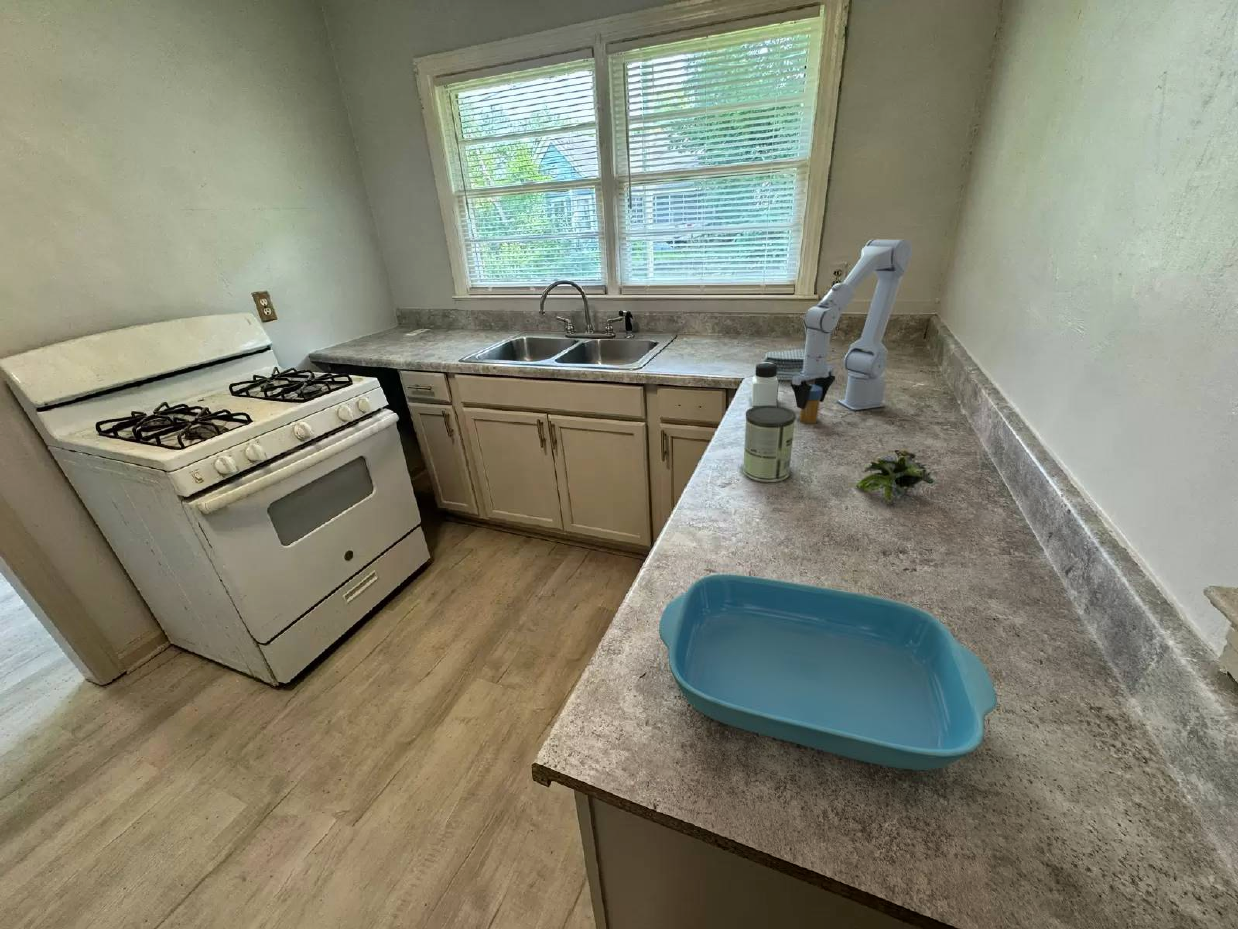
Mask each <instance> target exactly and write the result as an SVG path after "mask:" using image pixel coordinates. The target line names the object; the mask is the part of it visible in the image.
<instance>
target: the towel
mask: <svg viewBox="0 0 1238 929" xmlns="http://www.w3.org/2000/svg"><path fill="white" fill-rule="evenodd" d="M804 354H805V348H804V349H803V348H800V349H789V350H782V351H781V350H779V351H777V350H776V351H767V352H766V353H765V355H764V359H763V362H770V363H774V364H776V365H777V374H776V377H777V380H778V381H792V380H793V377H794V376H796V375H797V374H799V373H800V372H801V371H802V370H803V363H804ZM763 362H761V363H763Z"/></svg>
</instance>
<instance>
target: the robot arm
mask: <svg viewBox="0 0 1238 929" xmlns="http://www.w3.org/2000/svg"><path fill="white" fill-rule="evenodd" d="M912 255H913V247H912V245H911V242H910V240H909V239H906V238H902V239H885V238H884V239H882V238H881V239H878V238H871V239H870V240H868V241H867V242H866V244H865V246H864V247H862V249H861V252H860V259H858V261H857V263H856V264H855V265H854V267H853V268H852V270H851V271H850V272H849V274H848V275H847V276H846V278H845V279H844V280H843V282H838V283H835V284H834V285H833V286H832V287H831V289H830V290H828V292H827V294H826V295H824V297H823V298H822V299H821V300H820V301H819V303H818V304H817V305H814V306H812V307H810V308H809V309H807V311H806V312H805V313H804V317H803V318H802V325H803V328H804V335H805V336H806V337H805V346H804V349H805V354H804V363H803V370H802V371H801V372H800V373H799V374H797V375H796V376H794V377H793V380H790V387H791V389H792V392H793V395H794V397H795V402H796V407H797V408H798V409H800V410H801V409H805V407H806V403H807V398H808V395H809V392H810V390H811V388H812V387H813V386H811V385H812V384H808V381H812V380H814V385H816V386H820V387H822V397H821V399H820V403H823V402H824V401H825V398H826V395H827V394H828V391H829V389H830V387H831V385H833V382H834V381H835V380H836V376H835V375H833V374H834V372H835V366H833V365H828V357H829V351H830V342H831V337H832V336H831V335H832V331H834V329H836V327H837V326H838V324H839V320H840V318H841V316H842V312H843V311H844V310H846V308H847V307H848V306H849V304H850V303H851V302H852V301H853V300H854V298H855V291H856V289H857V288H859V287H860V286H861V284H863V283H864V281H866V279H868V277H869V276H871V275H872V273H873V274H875V276H876V277H877V279H878V282H877V284H876V288H875V290H874V294H873V297H872V300H871V303H870V307H869V311H868V313H867V315H866V316H867V317H866V321H865V323H864V327H863V330H862V333H861V336H860V339H857V340H856V341H854V342H853V343H851V344H850V345H849V349H848V351H847V353H845V354H846V355H845V356H844V358H843V368H844V370H846V374H847V376H848V377H847V382H846V388H845V396H844V399H838V400H837V402H838V403H840V404H841V405H843V406H844V407H846V408H848V409H850V410H851V411H859V410H867V409H875V408H881V407H884V404H882V403H883V397H884V392H885V388H886V380H885V377H884V376H883V375H882V374H883V373H884V371H885V370H886V368H887V358H888V353H889V350H888V349H887V347H886V346H885V345H884V344H883V342H882V341H883V337H884V334H885V332H886V328H887V325H888V322H889V320H890V316H891V313H892V310H893V307H894V303H895V300H896V298H897V295H898V291H899V288H900V285H901V282H902V279H903V276H904V275H905V276H906V274H907V273H906V272H907V269H908V267H909V263H910V261H911V257H912Z"/></svg>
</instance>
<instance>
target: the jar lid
mask: <svg viewBox="0 0 1238 929" xmlns="http://www.w3.org/2000/svg"><path fill="white" fill-rule="evenodd" d="M810 385H811V386H813V387H812V388H811V390H810V392H809V395H808V398H807V400H818V399H821V397H822V387H820V386H816V385H815V384H810Z"/></svg>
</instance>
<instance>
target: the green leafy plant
mask: <svg viewBox="0 0 1238 929" xmlns="http://www.w3.org/2000/svg"><path fill="white" fill-rule="evenodd" d="M894 453H895V454H896V456H897V457H896V456H891V455H889V456H888V454H887V455H886V456H884V457H882V456H881V457H876V461H877V462H875V461H872V460H870V463H869V464H868V466H867V467H866V468H865V469H864V471H863V473H869V472H873V471H874V472H875V471H879V472H875V473H872V474H870V475H867V476H865V477H864V478H862V479H861V480H860V481H859V482H858V483H857V484H856V489H859V490H860V491H861V490H862V491H863V492H869V491H870V492H871V491H874V490H878V489H883V488H884V490H883V491H884V495H885V497H886V499H887V500H888V501H889V502H891V501H892V492H893V495H894V500H893V502H892V503H891V504H890V506H893V505H895V503H896V502H897V501H898V499H899V498H900V497H901V496H902V495H904V494H906V493H907V491H909V489H914V488H915V487H916V485H917V484H919V483H921V482H925V483H927V484H934V482H935V480H934V479H933V478H931V471H928V472H927V468H926V464H925V463H922V462H919V461H915V459H916V457H917V454H916V453H914V452H910V451H908V450H905V449H904V450H900V449H894ZM921 463H922V464H921ZM893 490H894V491H893Z"/></svg>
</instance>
